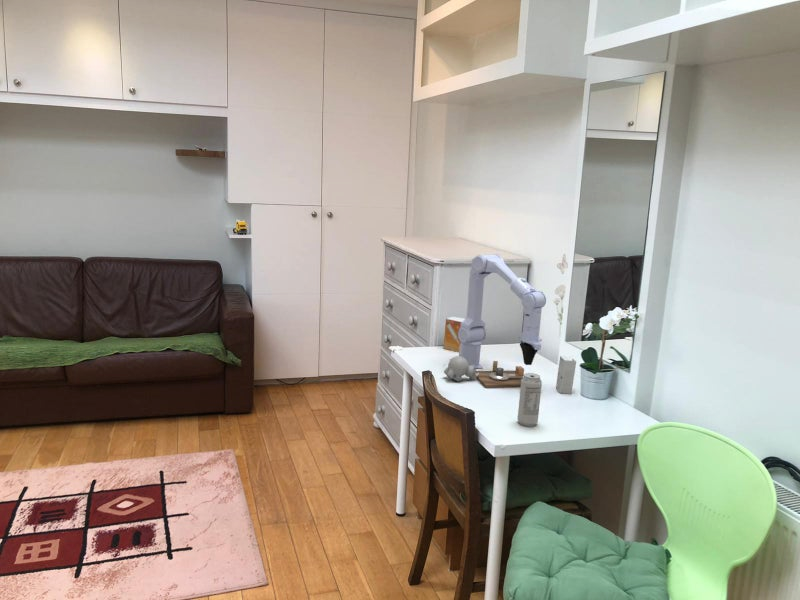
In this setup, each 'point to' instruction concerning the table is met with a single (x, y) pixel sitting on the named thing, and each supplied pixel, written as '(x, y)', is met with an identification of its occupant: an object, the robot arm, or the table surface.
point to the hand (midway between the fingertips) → (527, 364)
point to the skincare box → (566, 374)
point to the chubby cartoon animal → (460, 369)
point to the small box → (452, 333)
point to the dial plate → (503, 376)
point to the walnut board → (493, 383)
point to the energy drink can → (529, 399)
